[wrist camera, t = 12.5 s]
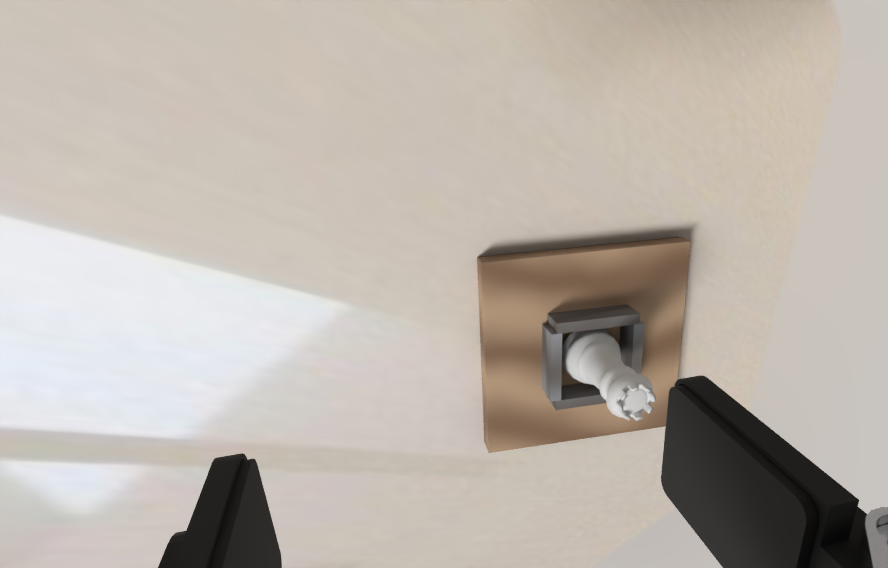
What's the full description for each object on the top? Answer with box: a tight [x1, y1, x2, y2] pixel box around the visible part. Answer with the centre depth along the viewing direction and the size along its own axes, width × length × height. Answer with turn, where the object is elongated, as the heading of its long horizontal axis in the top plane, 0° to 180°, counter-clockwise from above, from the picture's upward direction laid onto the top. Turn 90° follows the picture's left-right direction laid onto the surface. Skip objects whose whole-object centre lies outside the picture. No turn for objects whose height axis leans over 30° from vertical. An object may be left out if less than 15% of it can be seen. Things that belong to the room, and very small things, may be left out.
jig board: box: [477, 237, 691, 453], centre depth 40 cm, size 16×16×4 cm
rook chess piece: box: [562, 328, 656, 421], centre depth 36 cm, size 4×4×8 cm
